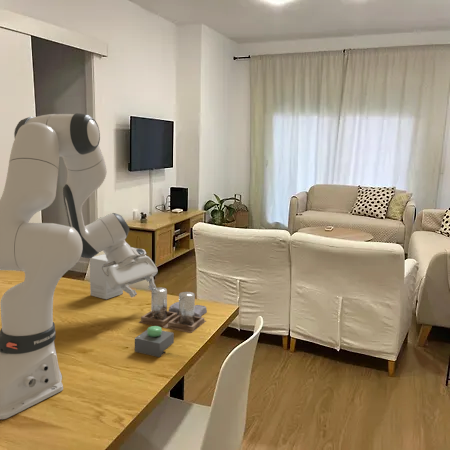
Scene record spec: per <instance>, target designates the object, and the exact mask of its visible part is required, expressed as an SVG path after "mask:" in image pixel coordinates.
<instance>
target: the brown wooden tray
mask: <svg viewBox="0 0 450 450" xmlns="http://www.w3.org/2000/svg"><path fill="white" fill-rule="evenodd" d="M206 322H207V320H205V317H203V316H201V317H197V316H194V324H193V325H192V326H190V325H185V324H180V323H179V315H177V313H175V312H170V311H169V310H167V318H166V319H165V320H159V319H154V318H151V310H150V311H149V312H147V313H145V314H143V315H141V317H140V321H138V322H137V323H139V324H144V325H149V326H159V327H161V328H164V329H170V330H175V331H178V332H184V333H189V334H191V333H193V332H195V331H196V330H197V329H198V328H200V327H201V326H202V325H203V324H205V323H206Z"/></svg>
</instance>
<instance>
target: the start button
mask: <svg viewBox="0 0 450 450" xmlns="http://www.w3.org/2000/svg"><path fill="white" fill-rule="evenodd" d="M162 328H163V327H159V326H153V325H150V326H148V327H147V329H146V330H147V335H148V336H151V337H155V338H156V337H157V336H160V335H161V334H162V331H163V329H162Z"/></svg>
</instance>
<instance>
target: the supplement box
mask: <svg viewBox="0 0 450 450" xmlns="http://www.w3.org/2000/svg"><path fill="white" fill-rule="evenodd" d="M106 263H109V261H108V260H107V258H106V255H105V253H103V254H99V255H95V256H94V257H92V258H89V283H90V284H89V285H90V286H89V287H90V288H89V289H90V292H89V293H90V296H92V297H96V298H100V299H103V300H108V299H111V298H114V297H117V296H120V295H123V294H124V291H123V289H122V288H119V289H116V290H113V289H112V288H111V287H110V286H109V284H108V282H107V280H106V278H105V274H104V273H103V271H102V266H103V265H104V264H106Z"/></svg>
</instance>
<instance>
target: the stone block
mask: <svg viewBox="0 0 450 450" xmlns="http://www.w3.org/2000/svg"><path fill="white" fill-rule="evenodd" d="M168 311H170V312H175V313H177V315H179V301H175V302H174V303H173V304H170V306H169V307H168ZM207 311H208V309H207V306H205V305H202V304H201V305H200V304H195V310H194V316H197V317H203V315H205V314H206V313H207Z"/></svg>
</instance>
